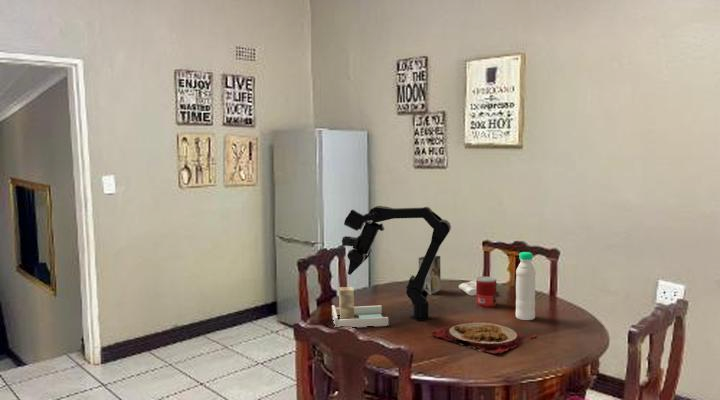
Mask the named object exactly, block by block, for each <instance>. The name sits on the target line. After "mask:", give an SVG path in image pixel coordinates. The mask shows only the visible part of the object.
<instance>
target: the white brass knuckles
mask: <svg viewBox="0 0 720 400" xmlns="http://www.w3.org/2000/svg"><path fill="white" fill-rule="evenodd" d="M458 288H459V290H461V291H463V292H464V293H466V294H467V295H468V296H470V297H471V296H476V279H474V280H470V281H469V282H463V283H460V284H459V285H458ZM496 291H497V288H496Z"/></svg>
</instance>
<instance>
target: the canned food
mask: <svg viewBox="0 0 720 400" xmlns="http://www.w3.org/2000/svg"><path fill="white" fill-rule="evenodd" d="M475 280H476V295H475V297H476V298H475V299H476V300H475V301H476V302H475V303H476V305H477V307H478V306H479V307H483V308H493V307H494V308H495V306H496V305H497V290H496V289H497V278H495V277H494V276H493V277H492V276H478V277H476V279H475Z"/></svg>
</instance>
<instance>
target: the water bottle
mask: <svg viewBox="0 0 720 400" xmlns="http://www.w3.org/2000/svg"><path fill="white" fill-rule="evenodd" d="M518 256H519V257H518V258H519V260H520V263H519V264H518V266H517V268H516V269H515V270H516V271H515V274H516V277H515V278H516V279H515V317H516V319H518V320H521V321H532V320H534V319H535V318H536V309H535V308H536V269H535V268H534V264H533V263H532V261H533V256H534V255H533V253H532V252H529V251H522V252H519V255H518Z"/></svg>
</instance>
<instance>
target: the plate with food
mask: <svg viewBox="0 0 720 400" xmlns="http://www.w3.org/2000/svg"><path fill="white" fill-rule="evenodd" d="M435 328H437V329H440V331H438V332H436V331H435V330H434V332H430V335H432V336H434V337H436V338H441V339H444V341H447V342H448V341H450V342H453V343H457V344H461V345H462V346H463V345H464V344H463V343H461V342H460V341H465V342H467V343H470V344H469V345H468V346H467V347H468V348H471V349H473V350H477V351H479V352H486V353H491V354H502V353H504V352H507V351H508V350H512V349H514V348H516V347H520V345H521V344H522V342H521V341H520V340H521V338H523V337H525V334H521V333H520V332H517V331H515V330H514V329H513V328H511V327H506V326H505V325H502V324H499V323H498V324H496V323H493V322H490V323H489V322H487V321H485V322H481V321H480V322H477V321H476V322H475V321H474V322H472V321H471V322H464V323H457V324H455V325H451V324H450V325H447V324H445V327H444V328H443V325H439V326H438V325H437V326H434V329H435ZM441 328H442V329H441ZM528 335H530V336H531V335H532V336H531V337H532V338H531V337H530V336H528ZM528 335H527V336H528V341H527V340H526V343H528V342H529V341H531V340H532V339H533V338H535V337H536V334H531V333H529V334H528ZM529 337H530V338H529ZM457 340H458V341H457ZM459 340H460V341H459ZM491 350H492V351H491Z"/></svg>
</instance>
